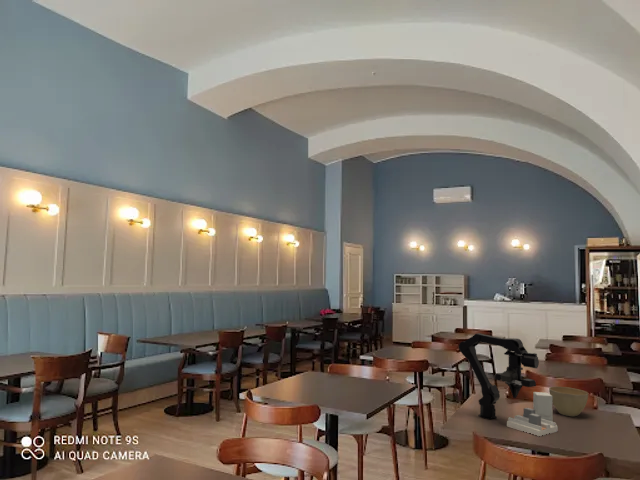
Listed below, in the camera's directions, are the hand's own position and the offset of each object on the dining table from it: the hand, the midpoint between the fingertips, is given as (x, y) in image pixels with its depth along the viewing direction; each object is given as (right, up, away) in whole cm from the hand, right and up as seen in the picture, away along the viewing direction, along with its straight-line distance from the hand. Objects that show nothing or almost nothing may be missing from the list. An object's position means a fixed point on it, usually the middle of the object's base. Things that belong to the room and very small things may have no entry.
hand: (514, 398), depth 228 cm
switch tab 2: (+4, -8, -13) cm, 16 cm away
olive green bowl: (+36, -15, +19) cm, 43 cm away
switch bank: (+5, -12, -8) cm, 15 cm away
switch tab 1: (+6, -9, -3) cm, 11 cm away
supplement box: (+17, -13, +7) cm, 23 cm away
